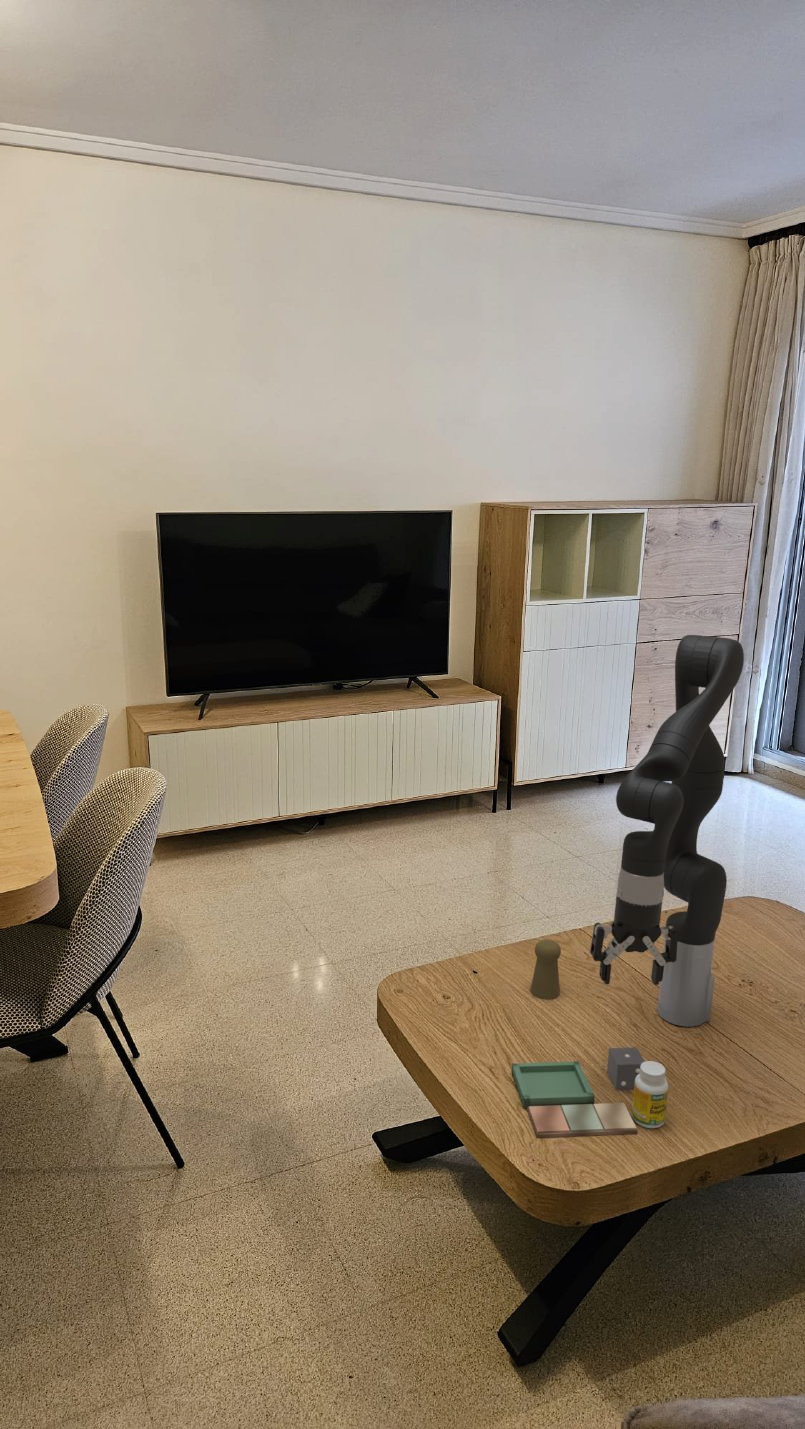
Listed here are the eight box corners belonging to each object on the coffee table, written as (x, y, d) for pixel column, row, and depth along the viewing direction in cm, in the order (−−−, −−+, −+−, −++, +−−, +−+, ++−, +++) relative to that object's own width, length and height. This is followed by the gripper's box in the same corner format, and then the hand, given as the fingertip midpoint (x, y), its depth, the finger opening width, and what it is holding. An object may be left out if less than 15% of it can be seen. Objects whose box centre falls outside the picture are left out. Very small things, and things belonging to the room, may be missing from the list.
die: (635, 1072, 175) (638, 1045, 174) (645, 1090, 170) (648, 1063, 169) (606, 1073, 174) (609, 1046, 173) (616, 1091, 169) (618, 1064, 168)
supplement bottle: (647, 1104, 166) (652, 1054, 163) (671, 1122, 161) (677, 1070, 159) (624, 1115, 163) (629, 1064, 161) (648, 1133, 159) (654, 1081, 156)
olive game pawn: (526, 995, 199) (529, 946, 197) (534, 981, 205) (537, 933, 202) (556, 1002, 197) (559, 952, 195) (563, 988, 203) (566, 939, 200)
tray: (577, 1070, 175) (578, 1061, 174) (593, 1105, 165) (594, 1096, 165) (511, 1072, 174) (512, 1063, 173) (523, 1108, 164) (524, 1098, 164)
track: (623, 1106, 165) (624, 1101, 165) (637, 1133, 159) (637, 1128, 158) (527, 1109, 164) (527, 1105, 163) (536, 1137, 157) (537, 1132, 157)
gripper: (674, 886, 169) (664, 972, 172) (592, 884, 168) (584, 971, 172) (688, 904, 161) (678, 994, 165) (603, 902, 161) (594, 992, 164)
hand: (630, 982), depth 168 cm, fingers open, 8 cm apart
